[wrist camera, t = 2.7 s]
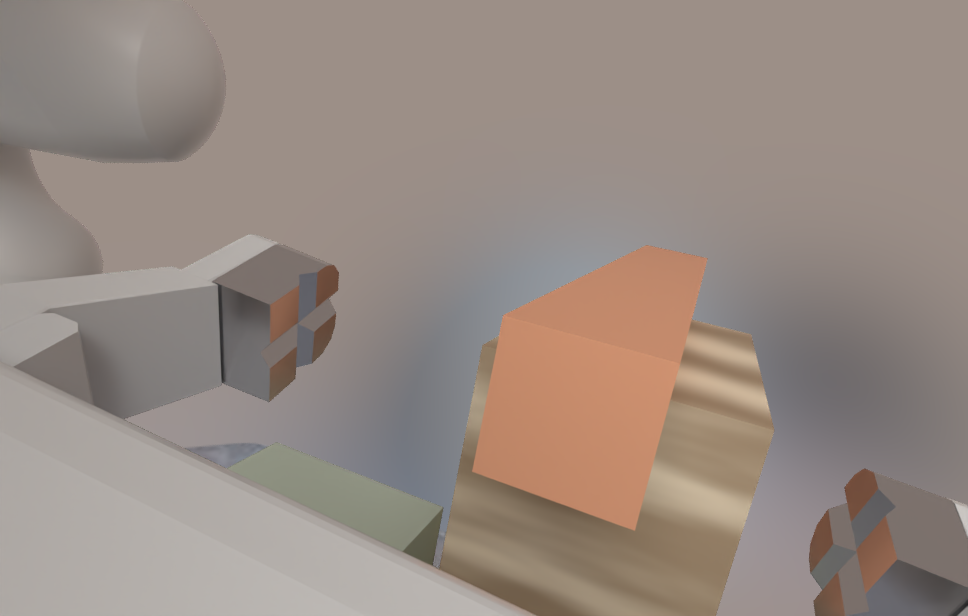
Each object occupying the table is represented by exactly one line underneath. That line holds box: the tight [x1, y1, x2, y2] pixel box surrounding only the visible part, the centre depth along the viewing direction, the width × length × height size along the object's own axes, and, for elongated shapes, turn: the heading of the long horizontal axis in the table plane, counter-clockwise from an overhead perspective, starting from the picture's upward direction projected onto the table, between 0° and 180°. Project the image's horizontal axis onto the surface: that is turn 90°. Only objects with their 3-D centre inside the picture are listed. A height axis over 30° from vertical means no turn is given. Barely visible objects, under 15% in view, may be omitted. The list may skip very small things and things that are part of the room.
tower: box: [439, 320, 774, 616], centre depth 31 cm, size 16×10×26 cm, turn 159°
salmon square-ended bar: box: [472, 245, 707, 531], centre depth 24 cm, size 26×4×4 cm, turn 159°
